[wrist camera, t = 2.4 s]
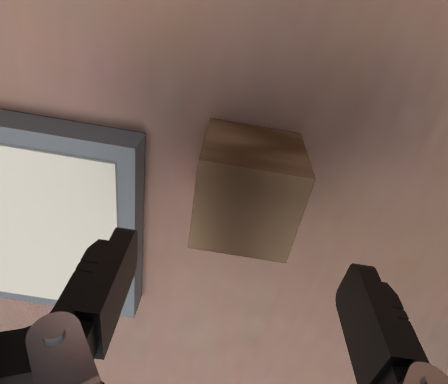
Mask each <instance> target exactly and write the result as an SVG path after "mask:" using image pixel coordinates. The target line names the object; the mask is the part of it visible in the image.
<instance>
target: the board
mask: <svg viewBox="0 0 448 384" xmlns="http://www.w3.org/2000/svg"><path fill="white" fill-rule="evenodd" d="M144 171H145V133H140V132H134V131H129V130H123V129H117V128H111V127H105V126H99V125H93V124H87V123H81V122H75V121H69V120H63V119H57V118H51V117H45V116H39V115H33V114H27V113H21V112H15V111H9V110H3V109H0V298H7V299H13V300H20V301H27V302H33V303H40V304H46V305H53V306H55V304H56V302H57V301H58V299H59V297H60V295H61V293H62V292H63V290H64V288H65V286H66V285H67V283H68V281H69V279H70V278H71V276H72V274H73V272H75V269H76V267H77V265H78V263H79V262H80V261H81V258H82V256H83V255H84V253H85V251H86V249H87V248H88V247H89V246H91V245H92V244H93V243H94V242H96V241H97V240H98V239H102V240H109V239H110V237H111V235H112V233H113V231H114V229H115V228H116V227H120V228H126V229H133V230H137V232H138V248H137V266H136V271H135V275H134V278H133V281H132V283H131V286H130V289H129V292H128V294H127V297H126V300H125V303H124V305H123V308H122V311H121V314H120V316H126V317H132V318H134V317H135V314H136V311H137V308H138V305H139V302H140V299H141V296H142V256H143V214H144Z"/></svg>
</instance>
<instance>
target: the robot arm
mask: <svg viewBox="0 0 448 384" xmlns="http://www.w3.org/2000/svg"><path fill="white" fill-rule="evenodd" d="M137 248H138V232H137V230H133V229H126V228H120V227H116V228H115V229H114V231H113V233H112V235H111V237H110V239H109V240H102V239H98V240H97V241H96V242H94V243H93V244H92V245H91V246H89V247H88V248H87V249H86V251H85V253H84V255H83V256H82V258H81V261H80V262H79V263H78V265H77V267H76V269H75V272H73V274H72V276H71V278H70V279H69V281H68V283H67V285H66V286H65V288H64V290H63V292H62V293H61V295H60V297H59V299H58V301H57V302H56V304H55V306H54V308H53V309H52V311H51V312H50V313H49V314H47V315H45V316H43V317H41V318H39V319H38V320H37V321H36V322H35V323H34V324H33V325H31V326H29V327H26V328H22V329H17V330H10V331H4V332H0V384H104V382H102V381H101V379H100V376H99V373H98V370H97V368H96V365H95V362H94V358H95V359H103V360H104V358H105V355H106V352H107V350H108V347H109V344H110V341H111V339H112V336H113V333H114V330H115V328H116V325H117V322H118V319H119V317H120V314H121V311H122V308H123V305H124V303H125V300H126V297H127V294H128V292H129V289H130V286H131V283H132V281H133V278H134V275H135V271H136V266H137ZM336 307H337V311H338V315H339V318H340V322H341V326H342V329H343V333H344V337H345V341H346V344H347V348H348V352H349V355H350V359H351V363H352V366H353V370H354V374H355V378H356V381H357V384H448V377H447V375H446V374H444V373H443V372H442V371H441V370H440V369H438V368H437V367H435V366H433V365H431V364H430V363H429V361H428V359H427V357H426V355H425V353H424V351H423V348H422V346H421V344H420V342H419V340H418V338H417V336H416V333H415V331H414V329H413V327H412V325H411V323H410V321H408V319H409V318H408V316H407V314H406V312H405V311H404V310H403V306H402V303H401V301H400V299H399V297H398V295H397V294H396V293H395V292H394V290H393V289H392V288H391V287H390V286H389V285H388V284H387V283H385V282H381V279H380V277H379V275H378V273H377V270H376V269H375V268H374V267H373V266H366V265H360V264H351V265H350V267H349V268H348V270H347V272H346V274H345V276H344V278H343V280H342V282H341V284H340V286H339V288H338V290H337V293H336Z"/></svg>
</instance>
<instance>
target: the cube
mask: <svg viewBox="0 0 448 384" xmlns="http://www.w3.org/2000/svg"><path fill="white" fill-rule="evenodd" d="M314 182H315V176H314V173H313V170H312V167H311V164H310V161H309V158H308V155H307V152H306V148H305V145H304V142H303V139H302V136H301V134H300V133H295V132H289V131H283V130H277V129H271V128H265V127H259V126H253V125H247V124H242V123H236V122H230V121H224V120H218V119H212V118H210V121H209V125H208V128H207V132H206V136H205V139H204V143H203V146H202V150H201V153H200V157H199V161H198V169H197V177H196V185H195V193H194V201H193V209H192V217H191V225H190V233H189V241H188V248H193V249H199V250H206V251H212V252H218V253H225V254H231V255H237V256H243V257H250V258H256V259H262V260H269V261H275V262H281V263H286V261H287V258H288V256H289V253H290V250H291V247H292V244H293V241H294V239H295V236H296V233H297V230H298V227H299V224H300V222H301V219H302V216H303V213H304V210H305V208H306V205H307V202H308V199H309V196H310V193H311V191H312V188H313V185H314Z"/></svg>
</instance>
